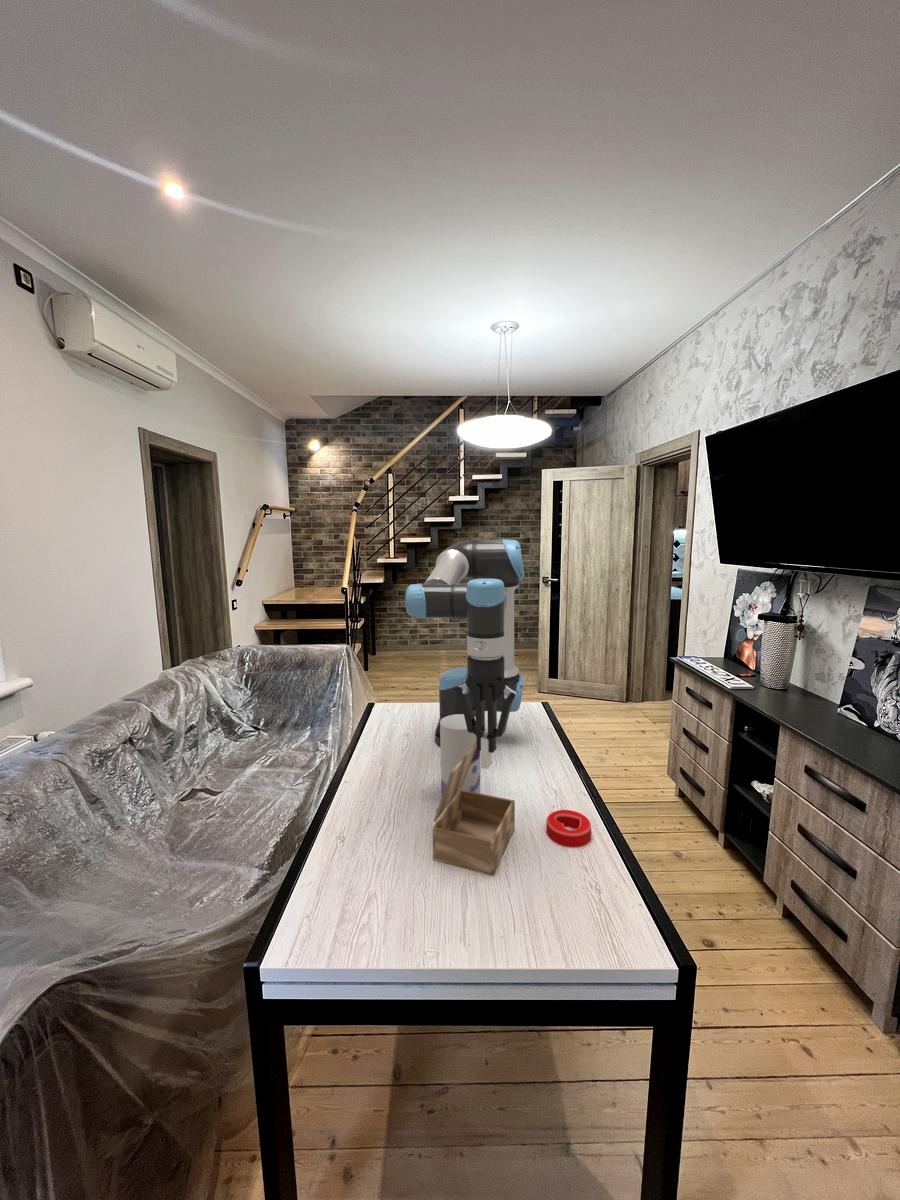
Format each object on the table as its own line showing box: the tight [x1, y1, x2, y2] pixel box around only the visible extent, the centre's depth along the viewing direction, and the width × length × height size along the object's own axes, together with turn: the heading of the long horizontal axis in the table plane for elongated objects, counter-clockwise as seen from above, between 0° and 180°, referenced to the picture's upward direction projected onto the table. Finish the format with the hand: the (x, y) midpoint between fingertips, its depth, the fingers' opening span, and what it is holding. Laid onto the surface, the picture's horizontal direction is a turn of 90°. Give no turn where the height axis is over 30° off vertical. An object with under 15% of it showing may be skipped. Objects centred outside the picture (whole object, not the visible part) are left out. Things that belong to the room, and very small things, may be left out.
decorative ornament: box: [545, 809, 592, 848], centre depth 107 cm, size 10×10×3 cm
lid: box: [432, 741, 477, 823], centre depth 104 cm, size 15×12×1 cm
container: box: [439, 714, 481, 805], centre depth 122 cm, size 10×10×20 cm
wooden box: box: [431, 790, 516, 877], centre depth 104 cm, size 16×13×7 cm
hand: (486, 765), depth 101 cm, fingers closed
